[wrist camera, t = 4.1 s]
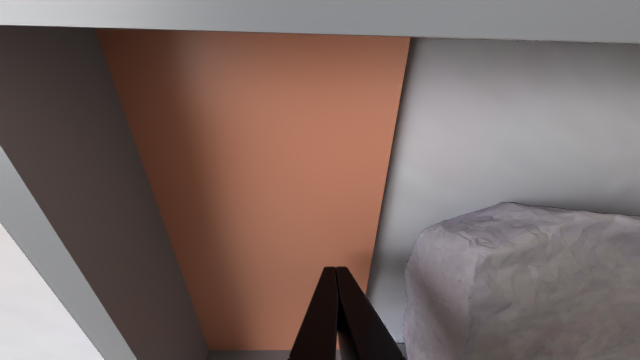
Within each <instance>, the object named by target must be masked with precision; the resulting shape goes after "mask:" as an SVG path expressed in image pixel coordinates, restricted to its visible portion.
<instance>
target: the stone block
mask: <svg viewBox="0 0 640 360" xmlns="http://www.w3.org/2000/svg"><path fill="white" fill-rule="evenodd" d="M404 275H405V282H406V289H405V292H406V294H407V296H408V302H407V307H406V309H405V313H404V324H403V340H404V342H405V345H406V352H407V357H408V360H640V216H636V215H634V216H626V215H618V214H600V213H593V212H589V211H585V210H580V211H577V210H567V209H560V208H554V207H541V206H538V207H536V206H527V205H522V204H518V203H513V202H510V203H506V202H501V203H499V204H496V205H494V206H492V207H489V208H485V209H482V210H479V211H475V212H471V213H467V214H464V215H461V216H459V217H456V218H453V219H449V220H445V221H442V222H440V223H438V224H435V225H433V226H431V227H429V228H427V229H425V230H424V231H422V232H421V233H420V234H419V236H418V238H417V240H416V242H415V247H414V249H413V251H412V254H411V255H410V258H409V260H408V261H407V263H406V267H405V269H404Z"/></svg>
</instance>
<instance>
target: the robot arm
mask: <svg viewBox="0 0 640 360" xmlns="http://www.w3.org/2000/svg"><path fill="white" fill-rule="evenodd" d="M337 335H338V342H339V348H340V354H341V360H406V358H405V357H404V356H402V355H403V354H402V352H401V350H400V349H399V347H398V346H397V344H396V343H395V341H394V339H393V338H392V336H391V335H390V333H389V332H388V330H387V328H386V327H385V325H384V324H383V322H382V321H381V319H380V317H379V316H378V314H377V313H376V311H375V310H374V308H373V306H372V305H371V303H370V302H369V300H368V299H367V297H366V295H365V294H364V292H363V291H362V289H361V288H360V286H359V285H358V283H357V281H356V280H355V278H354V277H353V275H352V274H351V272H350V270H349V269H348V268H347V267H346V266H337V267H336V268H335V267H334V266H325V267H324V268H323V270H322V273H321V276H320V278H319V281H318V283H317V286H316V288H315V291H314V293H313V296H312V298H311V301H310V304H309V306H308V309H307V311H306V314H305V316H304V319H303V321H302V324H301V326H300V329H299V332H298V334H297V337H296V339H295V342H294V344H293V347H292V349H291V352H290V354H289V358H288V359H287V360H336V345H337Z"/></svg>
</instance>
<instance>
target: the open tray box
mask: <svg viewBox="0 0 640 360" xmlns="http://www.w3.org/2000/svg"><path fill="white" fill-rule="evenodd" d="M411 38H445V39H481V40H516V41H552V42H588V43H624V44H640V0H0V223H1V224H2V225H3V227H4V228H5V229H6V231H7V232H8V233H9V235H10V236H11V237H12V239H13V240H14V241H15V242H16V244H17V245H18V246H19V248H20V249H21V250H22V252H23V253H24V254H25V256H26V257H27V258H28V260H29V261H30V262H31V263H32V265H33V266H34V267H35V269H36V270H37V271H38V273H39V274H40V275H41V277H42V278H43V279H44V281H45V282H46V283H47V285H48V286H49V287H50V288H51V290H52V291H53V292H54V294H55V295H56V296H57V298H58V299H59V300H60V302H61V303H62V304H63V306H64V307H65V308H66V309H67V311H68V312H69V313H70V315H71V316H72V317H73V319H74V320H75V321H76V323H77V324H78V325H79V327H80V328H81V329H82V331H83V332H84V333H85V334H86V336H87V337H88V338H89V340H90V341H91V342H92V344H93V345H94V346H95V348H96V349H97V350H98V352H99V353H100V354H101V355H102V357H103V358H104V359H105V360H287V359H288V358H289V354H290V352H291V349H292V347H293V344H294V342H295V339H296V337H297V334H298V332H299V329H300V326H301V324H302V321H303V319H304V316H305V314H306V311H307V309H308V306H309V304H310V301H311V298H312V296H313V293H314V291H315V288H316V286H317V283H318V281H319V278H320V276H321V273H322V270H323V268H324V267H325V266H334V267H335V268H336V267H337V266H346V267H347V268H348V269H349V270H350V272H351V274H352V275H353V277H354V278H355V280H356V281H357V283H358V285H359V286H360V288H361V289H362V291H363V292H364V294H365V295H366V290H367V284H368V279H369V273H370V267H371V261H372V256H373V250H374V244H375V239H376V233H377V227H378V221H379V216H380V210H381V204H382V199H383V193H384V187H385V181H386V176H387V170H388V164H389V159H390V153H391V147H392V141H393V136H394V130H395V124H396V119H397V113H398V107H399V101H400V96H401V90H402V84H403V79H404V73H405V67H406V61H407V56H408V50H409V44H410V39H411ZM396 344H397V346H398V347H399V349H400V350H401V352H402V354H403V355H402V356H404V357H405V358H406V360H408V357H407V352H406V345H405V343H396ZM336 360H341V354H340V348H339V342H338V335H337V345H336Z"/></svg>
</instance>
